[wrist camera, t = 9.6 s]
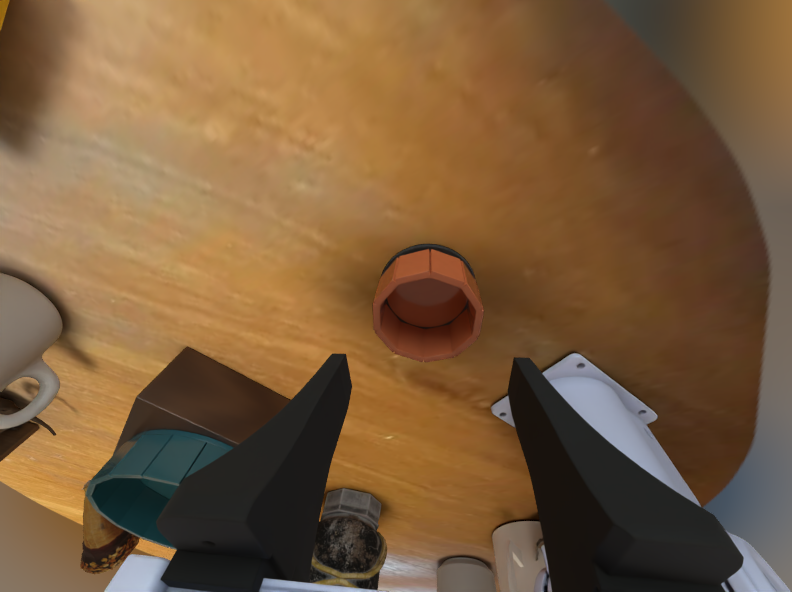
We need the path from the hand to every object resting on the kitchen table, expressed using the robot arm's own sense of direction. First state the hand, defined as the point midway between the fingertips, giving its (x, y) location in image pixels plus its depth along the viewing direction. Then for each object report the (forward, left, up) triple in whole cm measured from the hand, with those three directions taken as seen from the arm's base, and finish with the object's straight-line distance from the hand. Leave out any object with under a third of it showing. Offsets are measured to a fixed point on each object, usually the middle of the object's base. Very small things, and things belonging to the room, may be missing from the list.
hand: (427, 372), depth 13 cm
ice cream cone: (+14, +46, -6) cm, 48 cm away
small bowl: (0, 0, -7) cm, 7 cm away
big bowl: (+5, +23, -2) cm, 23 cm away
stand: (+5, +23, -7) cm, 24 cm away
